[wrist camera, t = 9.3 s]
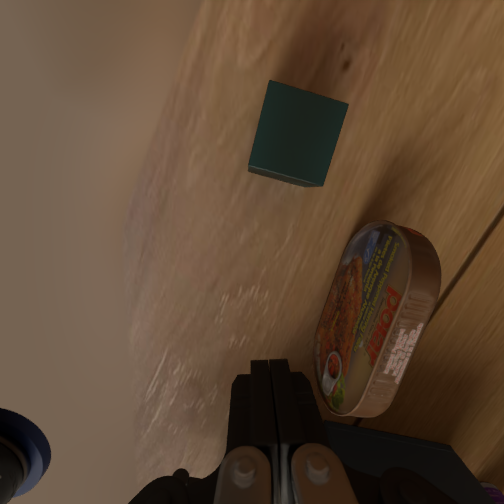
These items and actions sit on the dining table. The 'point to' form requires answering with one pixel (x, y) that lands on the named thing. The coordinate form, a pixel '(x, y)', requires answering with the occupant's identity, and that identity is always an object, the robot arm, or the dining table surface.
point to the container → (493, 492)
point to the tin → (374, 318)
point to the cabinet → (406, 459)
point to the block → (296, 135)
